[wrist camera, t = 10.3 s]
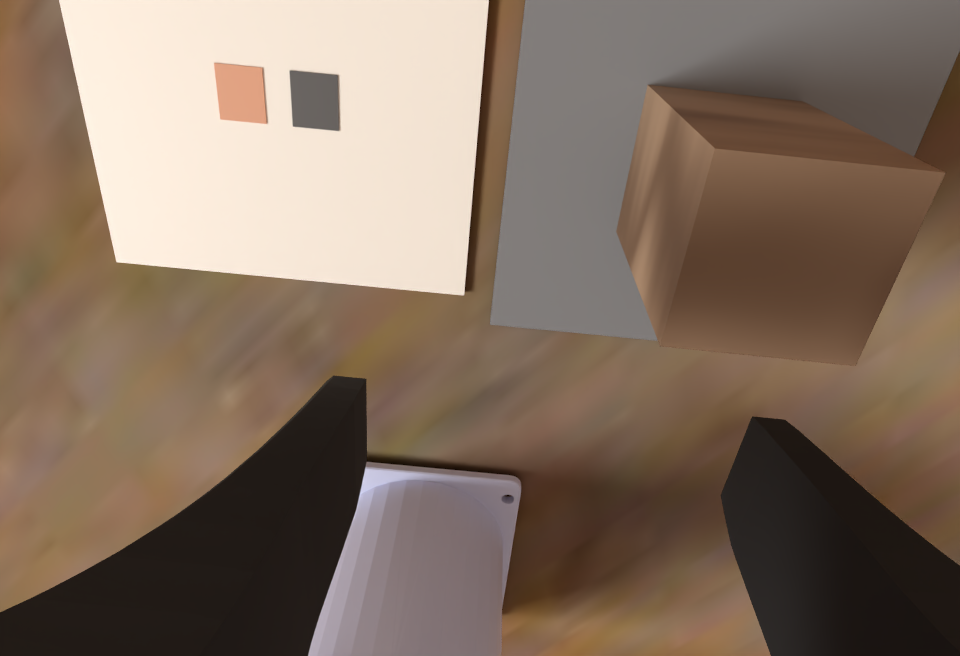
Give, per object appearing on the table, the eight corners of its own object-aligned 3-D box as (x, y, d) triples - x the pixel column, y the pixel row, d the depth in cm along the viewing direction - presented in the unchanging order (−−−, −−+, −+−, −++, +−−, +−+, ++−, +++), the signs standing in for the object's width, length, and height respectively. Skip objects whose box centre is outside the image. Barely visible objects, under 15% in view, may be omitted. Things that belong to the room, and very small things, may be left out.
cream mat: (464, 292, 22) (464, 295, 22) (119, 259, 22) (116, 262, 22) (499, -127, 16) (499, -129, 16) (25, -175, 16) (19, -178, 16)
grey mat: (824, 352, 23) (827, 357, 23) (490, 320, 23) (489, 324, 23) (987, -31, 17) (994, -31, 17) (533, -77, 17) (533, -78, 16)
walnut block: (754, 245, 21) (855, 366, 15) (616, 231, 21) (659, 346, 15) (802, 101, 18) (946, 172, 12) (647, 84, 18) (715, 148, 12)
